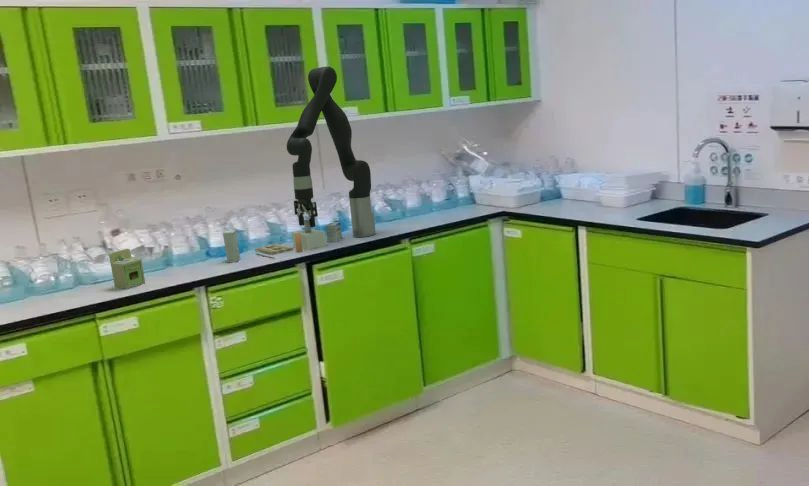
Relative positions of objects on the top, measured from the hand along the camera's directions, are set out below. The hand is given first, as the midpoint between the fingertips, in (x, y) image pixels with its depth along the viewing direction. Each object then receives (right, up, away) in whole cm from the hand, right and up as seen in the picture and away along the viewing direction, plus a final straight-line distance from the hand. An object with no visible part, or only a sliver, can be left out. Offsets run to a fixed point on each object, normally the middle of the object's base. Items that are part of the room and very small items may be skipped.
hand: (307, 226), depth 313 cm
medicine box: (+11, -7, +11) cm, 17 cm away
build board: (-13, -11, 0) cm, 18 cm away
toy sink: (-61, -23, -34) cm, 73 cm away
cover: (+1, -8, +2) cm, 9 cm away
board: (+1, -10, +2) cm, 10 cm away
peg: (-2, -12, -7) cm, 14 cm away
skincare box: (-29, -14, -6) cm, 33 cm away
